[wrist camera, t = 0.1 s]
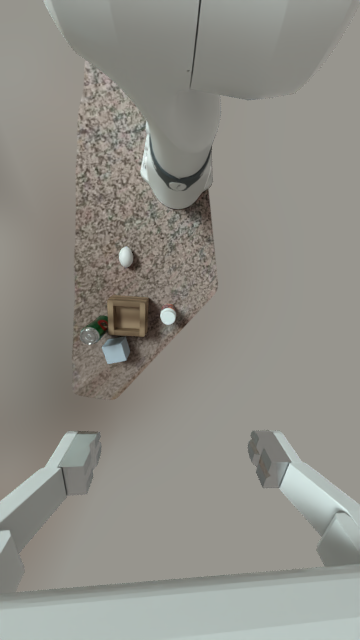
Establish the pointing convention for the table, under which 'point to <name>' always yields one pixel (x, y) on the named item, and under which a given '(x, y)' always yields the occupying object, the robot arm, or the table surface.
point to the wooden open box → (127, 315)
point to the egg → (126, 257)
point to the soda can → (94, 330)
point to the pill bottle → (168, 314)
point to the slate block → (116, 350)
